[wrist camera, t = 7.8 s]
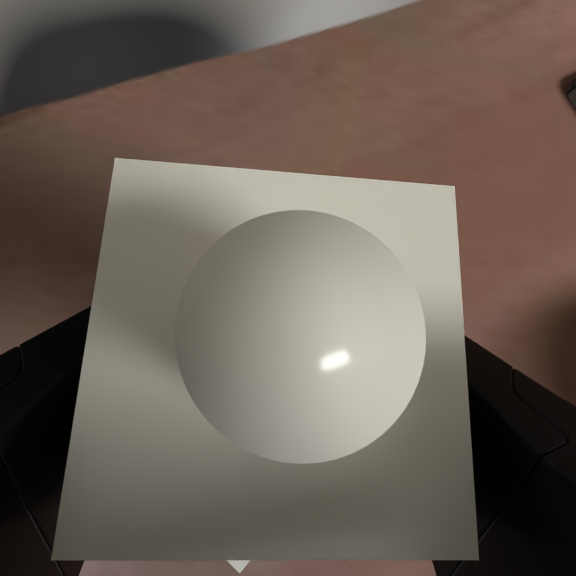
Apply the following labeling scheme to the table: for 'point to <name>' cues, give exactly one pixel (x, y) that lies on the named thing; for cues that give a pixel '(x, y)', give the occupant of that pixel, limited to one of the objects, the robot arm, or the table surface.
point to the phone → (572, 93)
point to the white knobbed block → (271, 373)
